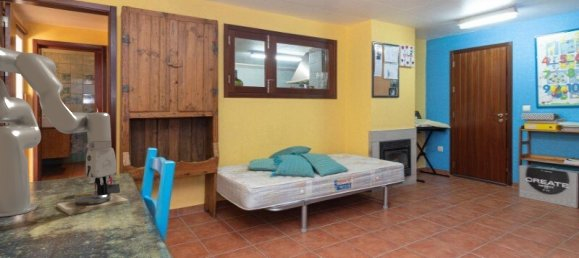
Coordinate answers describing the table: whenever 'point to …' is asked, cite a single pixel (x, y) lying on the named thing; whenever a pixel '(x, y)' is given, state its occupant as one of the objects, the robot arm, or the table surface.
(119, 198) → the stand
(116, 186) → the disc
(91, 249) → the table surface
